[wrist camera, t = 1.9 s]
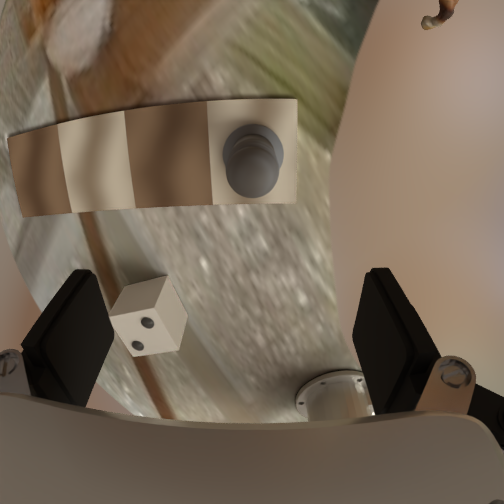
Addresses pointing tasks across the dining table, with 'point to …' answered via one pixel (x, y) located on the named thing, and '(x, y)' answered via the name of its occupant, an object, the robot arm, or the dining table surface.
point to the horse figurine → (440, 14)
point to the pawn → (252, 160)
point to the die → (149, 317)
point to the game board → (146, 157)
